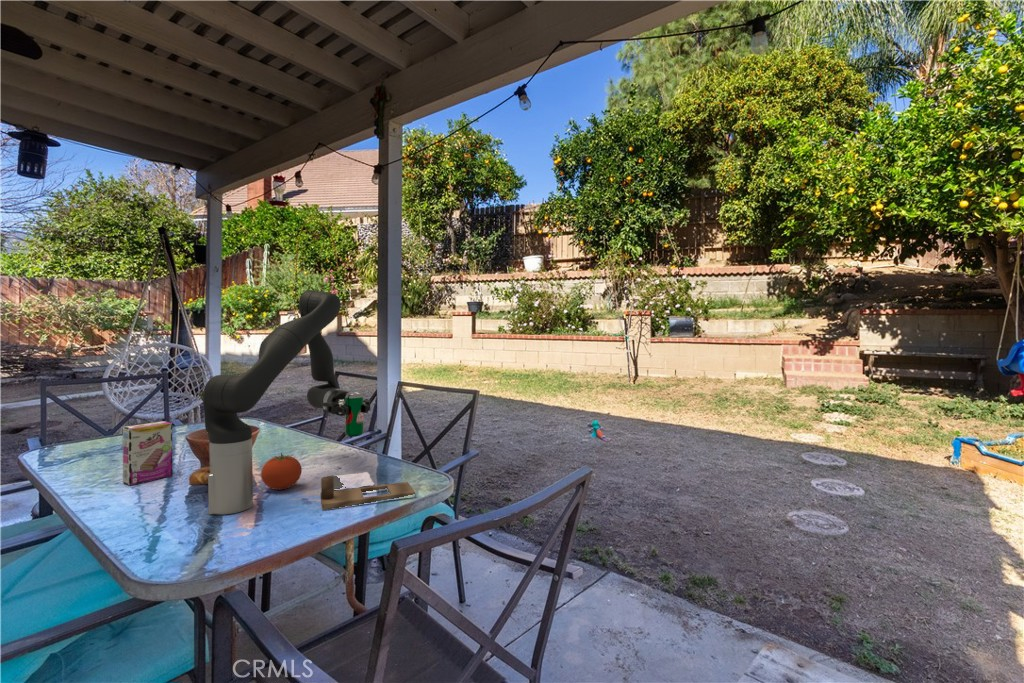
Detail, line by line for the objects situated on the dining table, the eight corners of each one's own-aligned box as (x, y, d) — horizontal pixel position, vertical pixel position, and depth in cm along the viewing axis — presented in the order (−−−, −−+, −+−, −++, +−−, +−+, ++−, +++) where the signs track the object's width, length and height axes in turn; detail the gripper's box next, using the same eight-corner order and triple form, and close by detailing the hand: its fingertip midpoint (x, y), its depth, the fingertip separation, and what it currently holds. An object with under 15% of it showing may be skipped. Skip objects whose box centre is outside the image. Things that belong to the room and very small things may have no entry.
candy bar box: (130, 486, 138) (128, 428, 138) (122, 483, 141) (120, 426, 140) (174, 476, 148) (173, 422, 147) (165, 473, 150) (164, 420, 150)
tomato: (255, 488, 137) (255, 453, 137) (293, 480, 144) (292, 446, 144) (269, 497, 130) (268, 460, 129) (307, 488, 137) (307, 453, 137)
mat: (329, 491, 135) (329, 489, 135) (326, 477, 147) (326, 476, 147) (374, 485, 140) (374, 483, 140) (368, 472, 152) (368, 471, 152)
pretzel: (197, 489, 137) (197, 476, 137) (182, 482, 143) (181, 469, 143) (242, 478, 146) (241, 466, 146) (225, 471, 153) (225, 460, 153)
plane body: (322, 510, 121) (322, 484, 121) (320, 498, 130) (320, 473, 129) (415, 497, 130) (415, 473, 130) (407, 486, 139) (407, 464, 139)
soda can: (360, 436, 139) (360, 394, 138) (342, 436, 139) (342, 394, 138) (365, 432, 144) (365, 392, 143) (348, 432, 144) (348, 391, 143)
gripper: (314, 391, 148) (331, 399, 134) (361, 387, 157) (381, 394, 143) (315, 416, 148) (331, 426, 135) (361, 411, 157) (381, 420, 143)
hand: (357, 410), depth 139 cm, fingers closed on soda can, 5 cm apart
